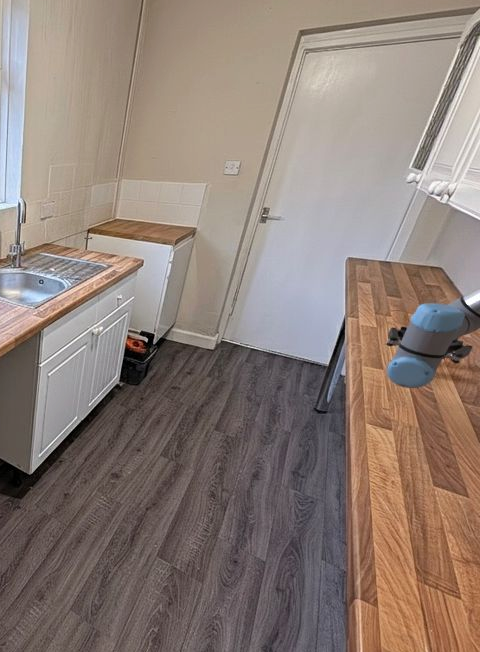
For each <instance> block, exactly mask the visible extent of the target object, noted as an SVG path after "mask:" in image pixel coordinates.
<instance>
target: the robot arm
mask: <svg viewBox="0 0 480 652" xmlns="http://www.w3.org/2000/svg"><path fill="white" fill-rule="evenodd" d="M478 330H480V286H479V287H477V288H475V289H474V290H472V291H470V292H469V293H467V294H464V295H463V296H461V297H459V298H457V299H455V300H454V301H452V302H450V303H448V304H443V303H435V302H432V303H430V302H429V303H428V302H427V303H426V302H425V303H422V304H420V305H419V306H417V308H416V311H415V312H414V313H413V314H412V315H411V318H410V321H409V324H408V326H407V327H406V326H400V328H399V329H398V328H396V327H390V330H389V332H388V334H387V339H388V340H387V342H386V344H385V345H386V346H388V347H397V348H396V351H395V353H394V355H393V357H392V359H391V360H390V361H389V363H388V365H387V366H386V367H387V368H386V375H387V377H388V379H389V380H390V381H391V382H392V383H394V384H395V385H397V386H399V387H402V388H405V389H419V388H424V387H425V386H427V385H429V384H430V382H432V381H434V377H435V375H436V372H437V370H438V369H439V366H440V365H441V363H442V361H443V360H444V359H448V360H449V361H451V362H452V363H453V364H460V362H461V360H463V359H465V358H466V357H468V356H469V355H470V354H471V352H472V350H473V348H474V346H472V345H469V344H465V345H464V341H462V340H459V338H461V337H463V336H466V335H469V334H471V333H473V332H476V331H478Z"/></svg>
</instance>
